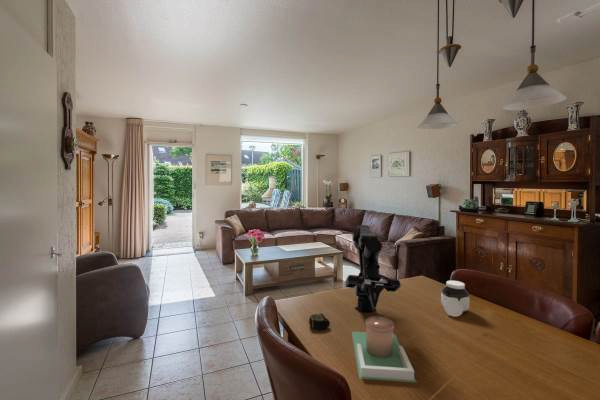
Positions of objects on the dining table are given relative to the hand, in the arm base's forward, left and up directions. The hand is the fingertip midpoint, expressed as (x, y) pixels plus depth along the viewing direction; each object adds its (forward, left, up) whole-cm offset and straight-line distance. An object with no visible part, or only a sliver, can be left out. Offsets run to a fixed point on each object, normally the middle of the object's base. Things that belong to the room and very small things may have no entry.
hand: (374, 307), depth 99 cm
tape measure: (+9, -18, -11) cm, 23 cm away
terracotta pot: (+6, +6, -10) cm, 13 cm away
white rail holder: (+11, +11, -10) cm, 19 cm away
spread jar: (-43, +9, -11) cm, 45 cm away
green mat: (+7, +7, -10) cm, 15 cm away
